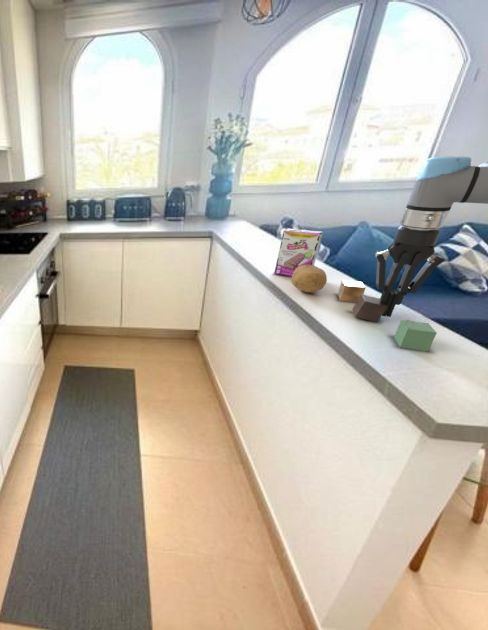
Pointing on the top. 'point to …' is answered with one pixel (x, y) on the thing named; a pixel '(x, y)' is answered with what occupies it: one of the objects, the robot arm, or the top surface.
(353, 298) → the oak block
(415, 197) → the robot arm
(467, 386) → the top surface
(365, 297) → the walnut block
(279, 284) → the top surface
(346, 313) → the top surface
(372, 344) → the top surface
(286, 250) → the candy bar box
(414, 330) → the sage block
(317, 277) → the potato
